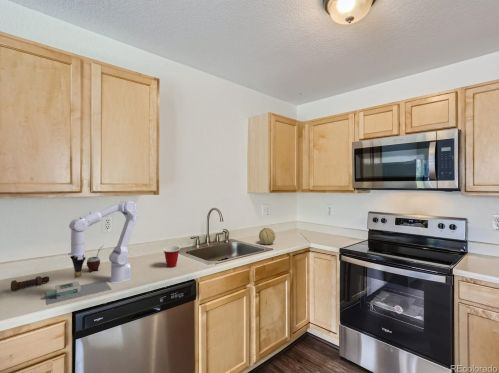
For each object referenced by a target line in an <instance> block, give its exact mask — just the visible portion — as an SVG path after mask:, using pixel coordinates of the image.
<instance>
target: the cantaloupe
mask: <svg viewBox="0 0 499 373" xmlns="http://www.w3.org/2000/svg"><path fill="white" fill-rule="evenodd" d="M258 239H259V242H261V243H262V244H263V245H271V244H273V243H274V242H275V240H276V233H275V231H274V230H273V229H272V228H269V227H263V228H262V229H261V230H260V231H259V233H258Z"/></svg>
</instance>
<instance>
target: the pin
mask: <svg viewBox="0 0 499 373" xmlns="http://www.w3.org/2000/svg"><path fill="white" fill-rule="evenodd" d="M75 258H76V257H75ZM82 270H83V269H82ZM82 270H81V272H77V273H76V272H75V267H74V266H73V278H74V279H79V278H81V277H82Z"/></svg>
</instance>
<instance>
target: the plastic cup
mask: <svg viewBox="0 0 499 373" xmlns="http://www.w3.org/2000/svg"><path fill="white" fill-rule="evenodd" d="M162 250H163V253H164V257H165V263H166V267H167V268H175V267H176V268H177V264H178V259H179V258H178V257H179V252H180V250H181V247H180V246H177V245H170V246H165V247H164V248H162Z"/></svg>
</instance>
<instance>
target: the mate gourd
mask: <svg viewBox="0 0 499 373" xmlns="http://www.w3.org/2000/svg"><path fill="white" fill-rule="evenodd" d="M104 246H105V245H104V244H103V245H102V246H101V247H99V249H98V251H97V254H96V256H91V257H88V258H87V260H86V267H87V269H88V272H89V273H93V272H99V267H100V265H101V259H100V257H98V256H99V253H100V251H101V249H102V248H103V247H104Z"/></svg>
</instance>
